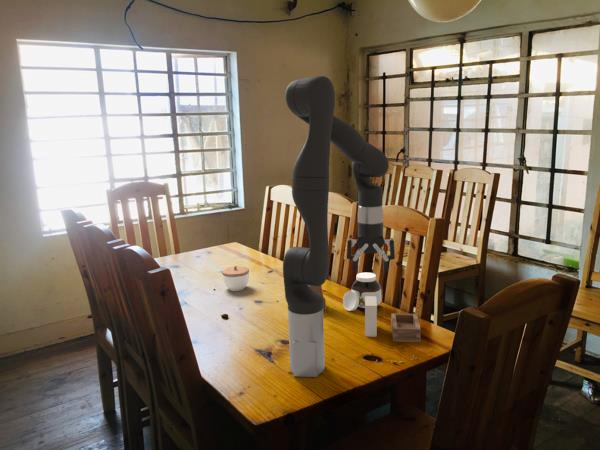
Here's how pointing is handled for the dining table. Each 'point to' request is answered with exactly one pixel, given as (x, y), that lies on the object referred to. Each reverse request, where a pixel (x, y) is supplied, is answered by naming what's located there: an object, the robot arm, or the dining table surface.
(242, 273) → the lidded jar
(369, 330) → the white rectangular block
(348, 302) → the spread jar
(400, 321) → the brown wooden box
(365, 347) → the dining table surface
